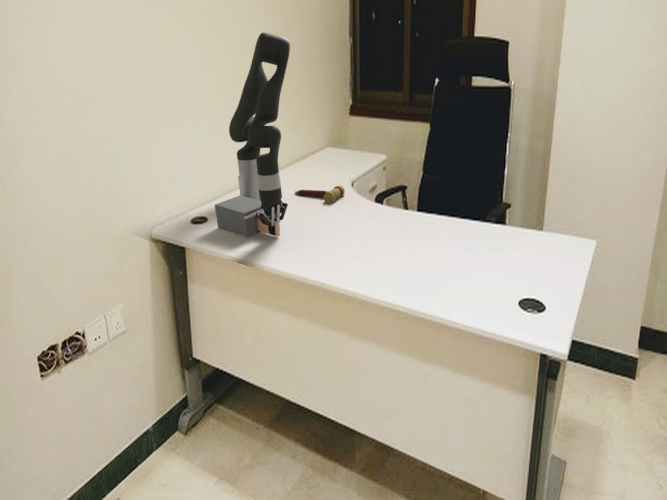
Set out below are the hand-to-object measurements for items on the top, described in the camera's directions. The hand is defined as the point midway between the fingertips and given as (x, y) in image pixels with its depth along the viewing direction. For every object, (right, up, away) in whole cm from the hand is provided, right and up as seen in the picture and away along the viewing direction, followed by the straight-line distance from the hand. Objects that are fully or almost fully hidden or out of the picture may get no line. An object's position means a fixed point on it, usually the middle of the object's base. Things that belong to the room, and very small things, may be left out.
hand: (274, 233), depth 195 cm
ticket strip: (-7, +2, +6) cm, 10 cm away
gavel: (+14, +16, +38) cm, 43 cm away
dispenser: (-12, +3, +10) cm, 16 cm away
